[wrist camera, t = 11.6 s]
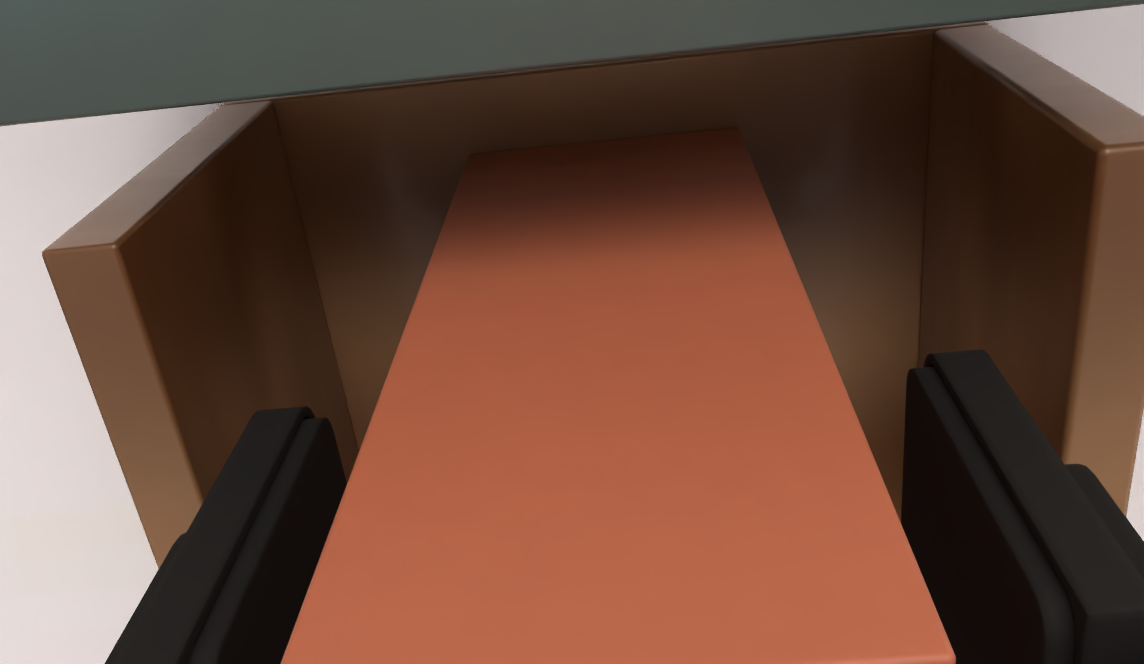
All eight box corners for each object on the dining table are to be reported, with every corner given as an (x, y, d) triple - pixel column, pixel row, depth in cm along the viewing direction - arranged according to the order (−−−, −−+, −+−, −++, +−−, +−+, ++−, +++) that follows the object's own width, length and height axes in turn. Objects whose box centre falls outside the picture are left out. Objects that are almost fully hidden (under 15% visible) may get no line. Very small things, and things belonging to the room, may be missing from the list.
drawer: (-3, -639, 12) (-588, -1059, 6) (1079, -816, 11) (1620, -1508, 5) (366, 696, 22) (277, 1036, 16) (962, 659, 21) (1106, 1003, 15)
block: (467, 153, 15) (263, 700, 6) (739, 126, 15) (958, 657, 6) (505, 385, 17) (391, 1083, 8) (748, 365, 17) (928, 1064, 8)
